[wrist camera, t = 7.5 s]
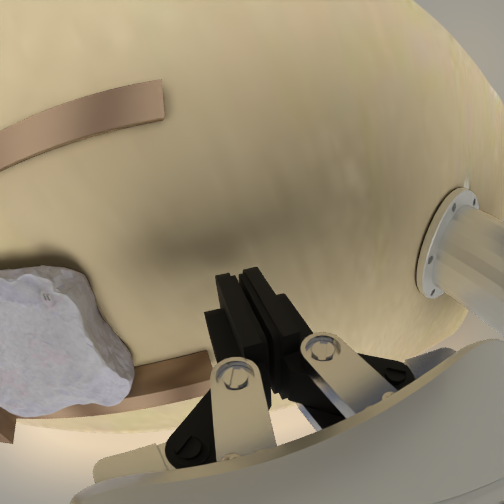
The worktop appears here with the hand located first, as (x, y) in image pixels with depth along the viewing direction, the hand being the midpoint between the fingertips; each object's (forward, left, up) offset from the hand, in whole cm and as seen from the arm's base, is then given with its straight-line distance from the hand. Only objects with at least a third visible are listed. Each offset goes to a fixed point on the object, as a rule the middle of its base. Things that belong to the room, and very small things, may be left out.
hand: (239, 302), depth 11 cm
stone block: (+12, +2, -5) cm, 14 cm away
